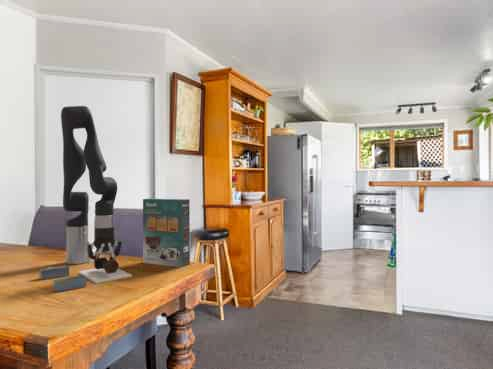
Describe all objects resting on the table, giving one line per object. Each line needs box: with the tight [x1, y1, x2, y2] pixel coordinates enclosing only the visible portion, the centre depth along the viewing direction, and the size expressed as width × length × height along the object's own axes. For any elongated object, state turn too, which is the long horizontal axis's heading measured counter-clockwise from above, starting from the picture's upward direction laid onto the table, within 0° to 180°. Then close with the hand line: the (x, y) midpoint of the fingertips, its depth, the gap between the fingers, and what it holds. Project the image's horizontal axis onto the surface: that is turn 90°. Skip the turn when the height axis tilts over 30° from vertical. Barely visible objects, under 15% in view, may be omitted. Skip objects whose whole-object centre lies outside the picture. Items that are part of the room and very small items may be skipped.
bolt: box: [98, 256, 120, 274], centre depth 145 cm, size 6×5×15 cm
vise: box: [38, 265, 87, 293], centre depth 137 cm, size 10×30×4 cm, turn 42°
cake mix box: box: [142, 198, 191, 268], centre depth 166 cm, size 22×6×30 cm, turn 66°
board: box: [78, 268, 133, 284], centre depth 145 cm, size 14×20×1 cm
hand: (104, 267), depth 145 cm, fingers closed on bolt, 5 cm apart
